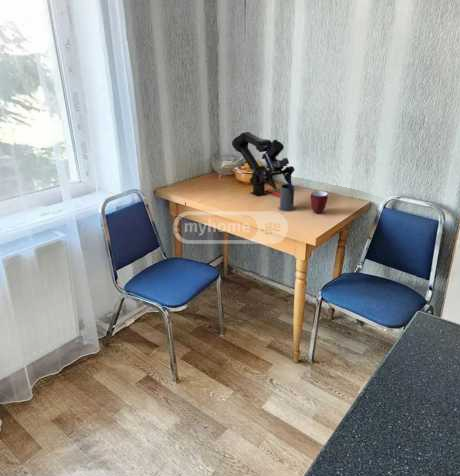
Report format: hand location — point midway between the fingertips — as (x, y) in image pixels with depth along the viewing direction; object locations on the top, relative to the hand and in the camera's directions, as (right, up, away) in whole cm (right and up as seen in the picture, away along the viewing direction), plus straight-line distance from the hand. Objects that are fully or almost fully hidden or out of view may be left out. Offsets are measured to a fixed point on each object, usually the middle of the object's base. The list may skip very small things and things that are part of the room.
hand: (283, 187), depth 201 cm
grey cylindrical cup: (+2, -11, +2) cm, 11 cm away
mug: (+16, -13, -4) cm, 22 cm away
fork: (-1, -2, +21) cm, 21 cm away
